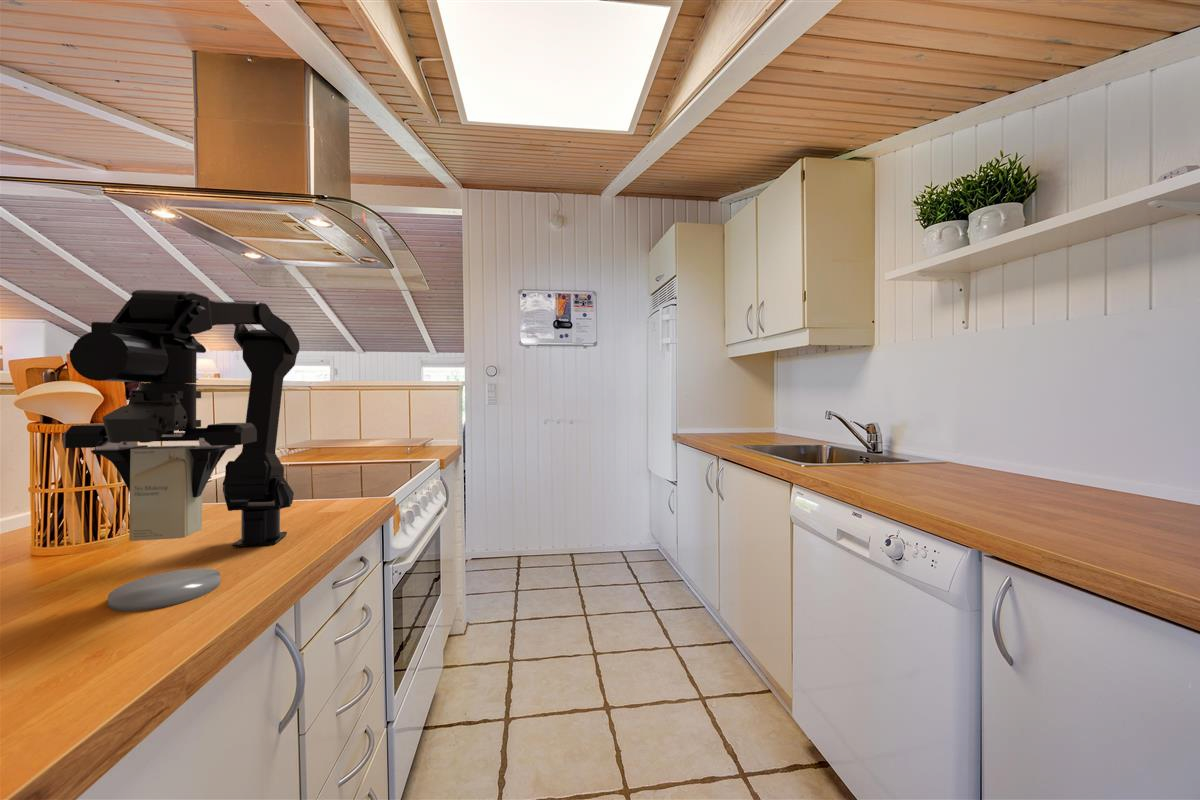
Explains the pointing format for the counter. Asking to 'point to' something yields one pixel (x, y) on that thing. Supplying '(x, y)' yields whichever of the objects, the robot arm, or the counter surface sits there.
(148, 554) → the counter surface
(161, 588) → the coaster
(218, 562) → the counter surface
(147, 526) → the skincare box
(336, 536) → the counter surface
